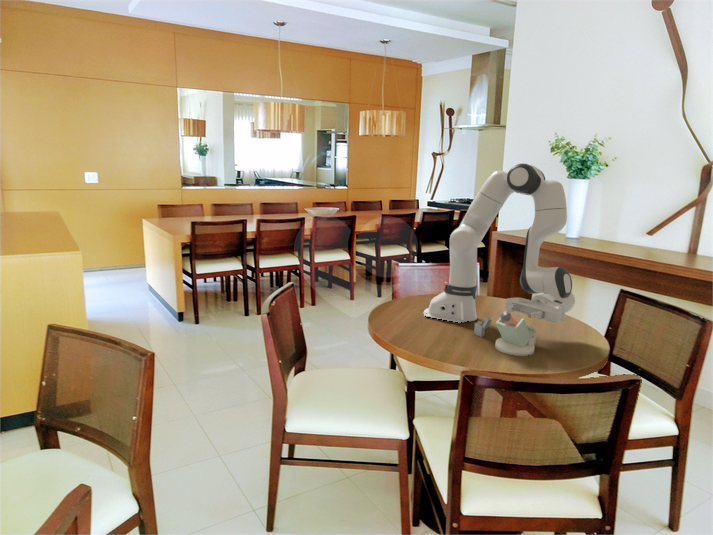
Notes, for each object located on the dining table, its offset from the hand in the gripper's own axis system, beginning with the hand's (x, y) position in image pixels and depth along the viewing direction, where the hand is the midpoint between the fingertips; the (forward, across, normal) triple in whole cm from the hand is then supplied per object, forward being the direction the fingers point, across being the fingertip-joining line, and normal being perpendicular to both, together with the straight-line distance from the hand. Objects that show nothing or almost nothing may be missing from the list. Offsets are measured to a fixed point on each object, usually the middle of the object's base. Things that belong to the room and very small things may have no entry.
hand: (519, 312), depth 166 cm
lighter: (0, -15, +14) cm, 20 cm away
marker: (-1, 0, +8) cm, 8 cm away
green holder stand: (0, 0, +13) cm, 13 cm away
